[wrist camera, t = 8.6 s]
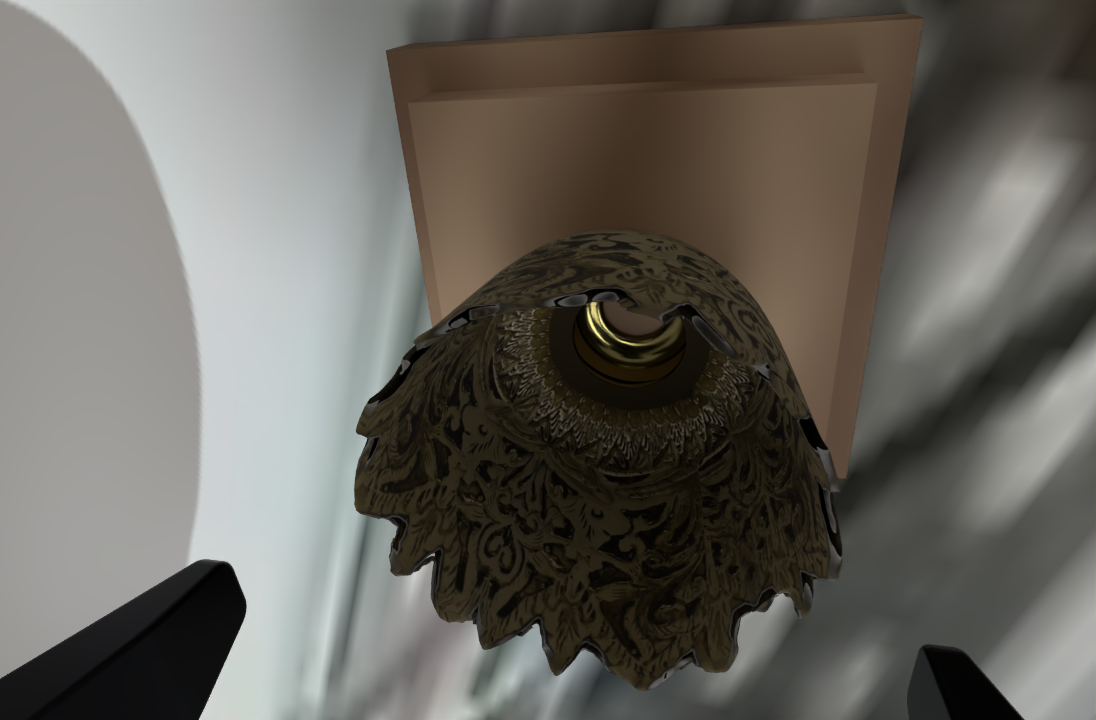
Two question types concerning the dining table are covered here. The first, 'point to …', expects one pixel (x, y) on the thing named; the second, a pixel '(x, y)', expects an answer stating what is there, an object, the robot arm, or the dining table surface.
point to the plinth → (707, 57)
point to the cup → (604, 460)
